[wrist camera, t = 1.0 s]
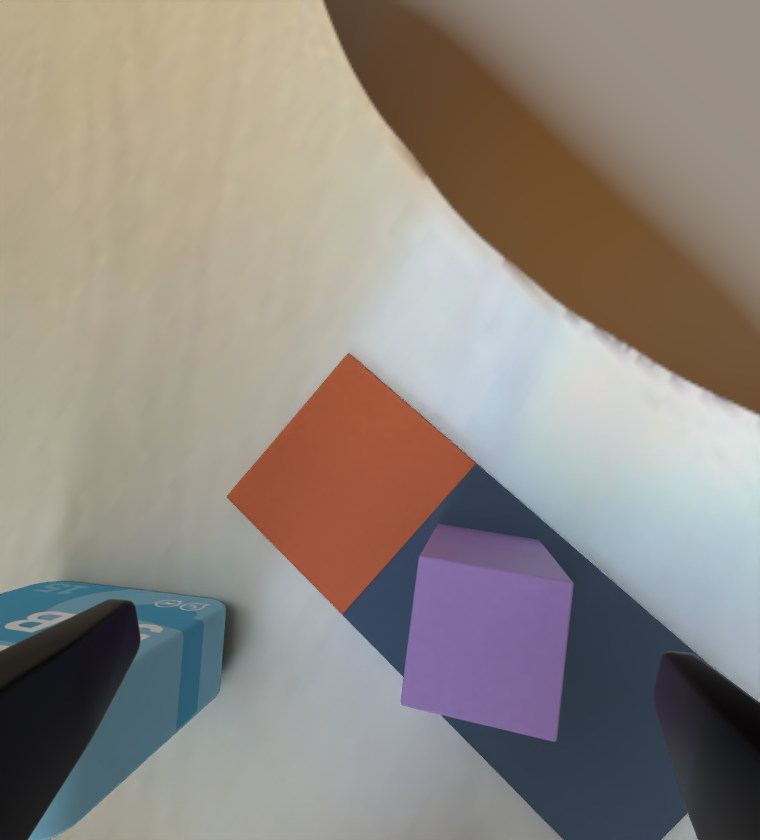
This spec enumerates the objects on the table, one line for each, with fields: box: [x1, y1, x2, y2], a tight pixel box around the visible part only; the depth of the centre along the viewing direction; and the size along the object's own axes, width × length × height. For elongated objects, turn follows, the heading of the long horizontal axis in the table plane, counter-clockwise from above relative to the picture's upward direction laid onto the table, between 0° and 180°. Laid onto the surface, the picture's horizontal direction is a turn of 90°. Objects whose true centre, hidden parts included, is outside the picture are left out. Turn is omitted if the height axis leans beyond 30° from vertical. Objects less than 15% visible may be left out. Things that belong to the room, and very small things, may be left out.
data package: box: [0, 581, 226, 840], centre depth 22 cm, size 12×4×12 cm, turn 87°
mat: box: [227, 353, 706, 840], centre depth 24 cm, size 26×10×1 cm, turn 48°
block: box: [401, 524, 574, 742], centre depth 20 cm, size 5×5×8 cm
